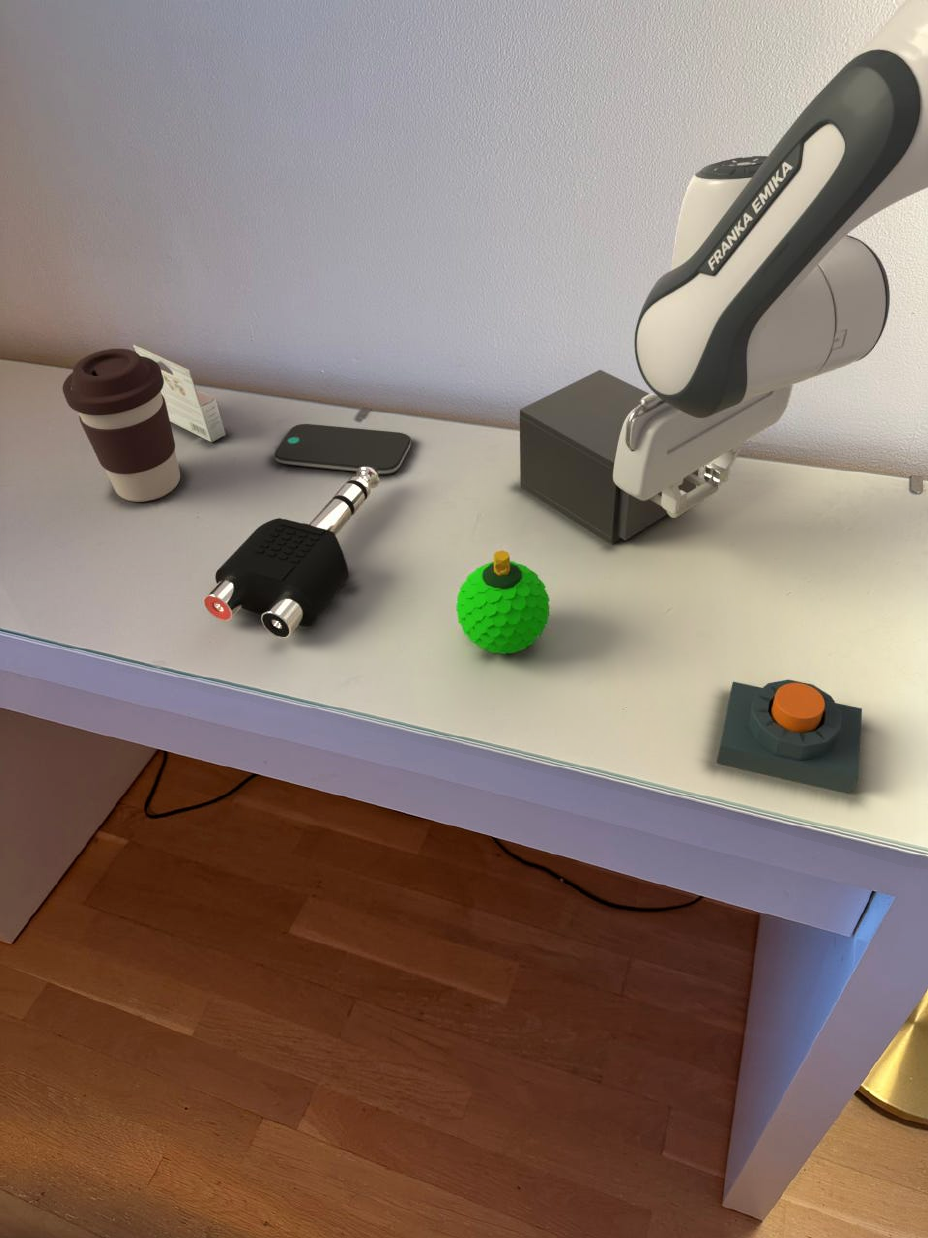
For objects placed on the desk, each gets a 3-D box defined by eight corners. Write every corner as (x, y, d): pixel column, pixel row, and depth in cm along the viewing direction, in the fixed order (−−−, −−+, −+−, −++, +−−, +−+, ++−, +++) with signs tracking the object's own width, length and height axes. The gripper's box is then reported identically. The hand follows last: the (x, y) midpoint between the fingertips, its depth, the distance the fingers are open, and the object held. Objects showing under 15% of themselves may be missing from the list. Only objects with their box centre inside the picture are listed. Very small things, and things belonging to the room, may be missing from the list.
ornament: (549, 610, 86) (551, 525, 79) (548, 674, 80) (549, 588, 74) (463, 609, 87) (457, 524, 80) (455, 672, 81) (448, 587, 74)
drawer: (727, 515, 94) (738, 449, 88) (657, 560, 89) (665, 494, 84) (607, 448, 103) (611, 386, 98) (538, 486, 99) (539, 423, 94)
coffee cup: (200, 457, 108) (164, 337, 98) (184, 508, 101) (144, 384, 91) (116, 462, 108) (71, 343, 98) (94, 513, 101) (43, 391, 91)
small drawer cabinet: (688, 497, 98) (699, 417, 91) (611, 544, 93) (617, 464, 86) (595, 445, 106) (600, 368, 99) (520, 486, 101) (519, 409, 94)
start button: (821, 703, 72) (826, 688, 71) (818, 738, 70) (823, 723, 68) (774, 693, 73) (777, 678, 72) (768, 727, 71) (772, 712, 69)
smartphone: (294, 421, 111) (414, 432, 108) (295, 428, 111) (414, 439, 108) (269, 457, 106) (395, 470, 102) (270, 463, 106) (395, 476, 103)
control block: (855, 726, 75) (867, 692, 72) (851, 794, 70) (863, 762, 67) (728, 699, 77) (736, 666, 75) (716, 763, 73) (723, 730, 70)
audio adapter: (190, 580, 84) (328, 437, 100) (204, 622, 88) (335, 478, 104) (293, 609, 80) (419, 456, 96) (303, 652, 84) (423, 498, 100)
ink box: (170, 407, 117) (148, 335, 110) (226, 435, 111) (207, 361, 105) (154, 415, 116) (131, 343, 109) (210, 444, 110) (189, 370, 103)
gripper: (659, 421, 72) (644, 557, 82) (817, 334, 81) (787, 466, 91) (601, 391, 76) (593, 525, 85) (758, 311, 85) (735, 440, 94)
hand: (694, 494), depth 88 cm, fingers closed on drawer, 5 cm apart
